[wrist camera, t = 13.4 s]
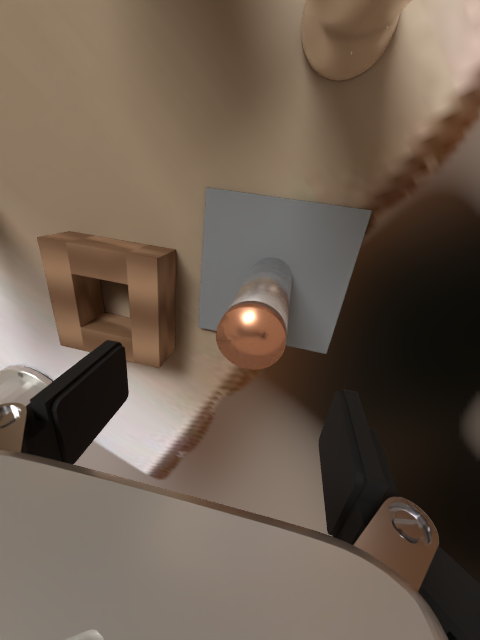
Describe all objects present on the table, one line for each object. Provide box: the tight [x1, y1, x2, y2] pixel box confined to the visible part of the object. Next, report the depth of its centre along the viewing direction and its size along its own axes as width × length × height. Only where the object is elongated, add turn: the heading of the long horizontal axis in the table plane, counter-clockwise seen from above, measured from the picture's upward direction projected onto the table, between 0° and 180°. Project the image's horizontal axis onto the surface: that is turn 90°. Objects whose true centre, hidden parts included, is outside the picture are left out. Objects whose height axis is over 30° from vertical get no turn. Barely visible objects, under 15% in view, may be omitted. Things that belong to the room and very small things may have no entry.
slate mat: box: [198, 188, 372, 354], centre depth 26 cm, size 14×14×1 cm
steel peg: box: [216, 257, 292, 369], centre depth 20 cm, size 4×4×12 cm
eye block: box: [37, 231, 176, 368], centre depth 29 cm, size 12×12×4 cm
